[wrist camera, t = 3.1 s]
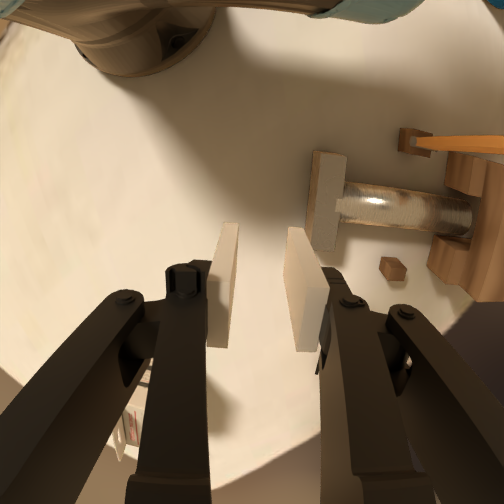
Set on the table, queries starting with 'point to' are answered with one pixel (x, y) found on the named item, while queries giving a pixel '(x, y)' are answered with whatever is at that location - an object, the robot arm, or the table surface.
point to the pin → (373, 205)
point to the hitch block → (485, 233)
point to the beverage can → (497, 3)
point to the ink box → (132, 417)
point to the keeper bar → (461, 143)
